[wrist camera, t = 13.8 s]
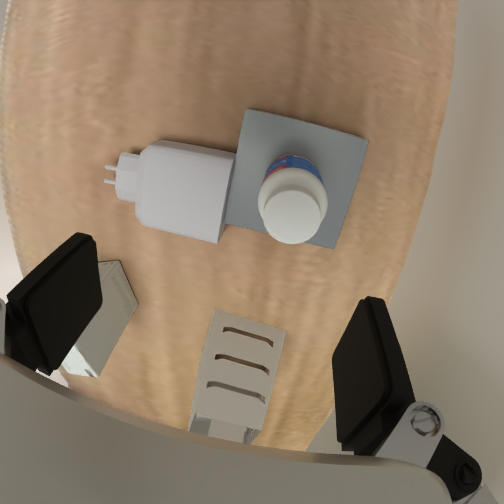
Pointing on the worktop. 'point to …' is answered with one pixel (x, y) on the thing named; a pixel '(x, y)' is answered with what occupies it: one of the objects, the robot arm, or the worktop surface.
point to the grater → (234, 379)
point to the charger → (177, 187)
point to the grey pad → (293, 142)
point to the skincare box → (103, 323)
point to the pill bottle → (292, 199)
